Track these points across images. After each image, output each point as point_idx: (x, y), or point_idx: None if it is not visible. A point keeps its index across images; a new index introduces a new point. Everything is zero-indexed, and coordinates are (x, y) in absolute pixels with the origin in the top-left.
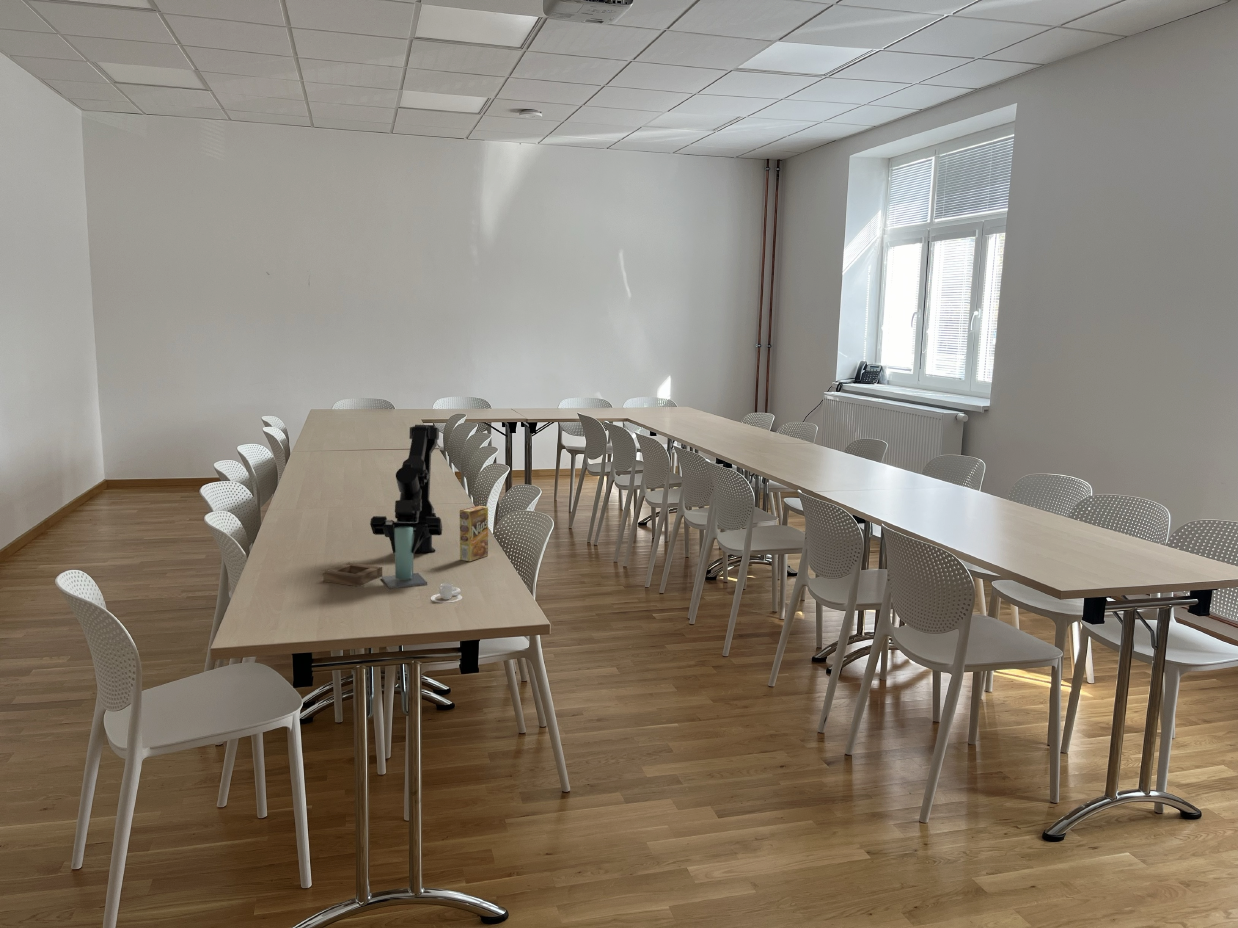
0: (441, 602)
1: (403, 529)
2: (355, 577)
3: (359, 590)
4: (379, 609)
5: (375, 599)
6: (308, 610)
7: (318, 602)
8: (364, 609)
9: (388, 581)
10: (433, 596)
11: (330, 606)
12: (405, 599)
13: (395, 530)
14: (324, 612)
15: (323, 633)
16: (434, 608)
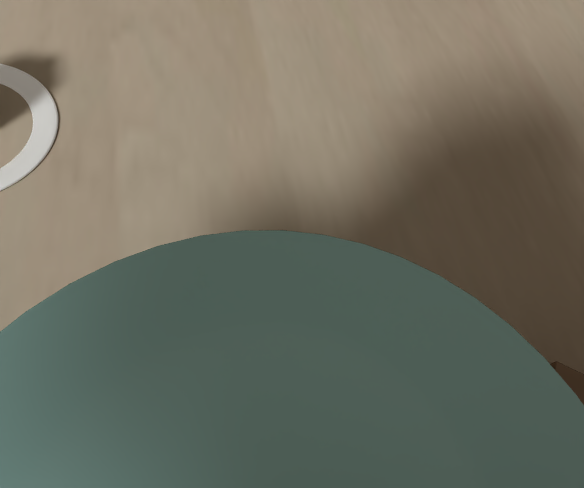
0: (5, 65)
1: (270, 347)
2: (570, 371)
3: (473, 289)
4: (297, 26)
5: (345, 140)
6: (560, 51)
7: (575, 128)
8: (357, 34)
9: None
10: (36, 149)
11: (503, 79)
12: (195, 126)
13: (535, 386)
14: (493, 26)
15: None
16: (53, 6)
